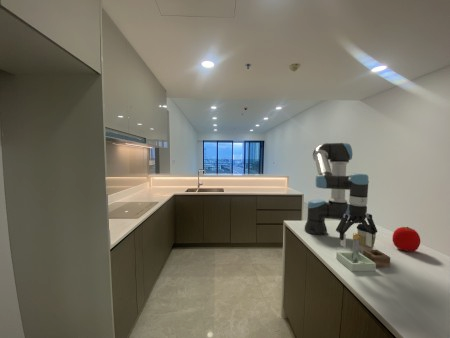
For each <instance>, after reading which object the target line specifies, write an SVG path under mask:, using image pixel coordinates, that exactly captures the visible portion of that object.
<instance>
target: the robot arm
mask: <svg viewBox="0 0 450 338" xmlns="http://www.w3.org/2000/svg"><path fill="white" fill-rule="evenodd" d="M312 159H313V160H314V161H315V165H316V170H317V175H316V176H315V187H316V188H318V189H325V190H326V189H330V190H331V193H330V195H331V196H330V198H329V199H328V201H326V199H320V198H319V199H318V198H316V199H312V200H311V199H310V200H309V201H308V202H307V219H306V222H305V224H304V231H305V232H306V233H308V234H310V235H316V236H325V235H328V229H327V225H326V220H325V219H327V220H337V221H338V220H339V223H338V225H337V227H336V229H335V232H337V233H338V234H339V237H338V238H339V240H340V246H342V247H343V248H346V245H347V244H346V242H347V241H346V239H347V234H346V232H347V231H348V230H349V229H350V228H351V227H352V225H354V224H363V225H364V227H365V228H366V229H367V231H368V232H367V233H366V245H368V246H369V247H371V245H372V240H373V234H375V232H376V234H377V233H378V229H377V226H376V224H375V222H374V220H373V215H372V213H371V214H370V213H367V211H368V206H367V205H368V196H369V194H368V193H369V182H370V181H369V175H368V174H365V173H351V174H350V175H347V165H348V164H349V163H350V161H351V160H352V159H353V149H352V146H351V144H350V143H348V142H347V143H345V142H336V143H335V142H332V143H330V142H329V143H328V142H325V143H321V144H319V145H318V146H316V148H315V149H314V150H313V152H312ZM330 164H331V166H330ZM331 167H332V168H331ZM347 190H348V191H349V195H348V196H349V197H348V201H347V200H346V191H347ZM369 225H370V226H369Z"/></svg>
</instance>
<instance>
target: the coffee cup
mask: <svg viewBox="0 0 450 338" xmlns="http://www.w3.org/2000/svg"><path fill="white" fill-rule="evenodd" d="M368 225H369V224H368ZM369 226H370V225H369ZM356 229H357V233H356V234H359V235H360V239H359V252H360V253H363V250H374V247H375V241H376V238H377V236H376V234H377V233H376V232H375V234H373V240H372V245H371V247H369V246H368V245H366V233H367V232H368V231H367V229H366V228H365V227H364V225H363V224H362V223H357V226H356Z"/></svg>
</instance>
